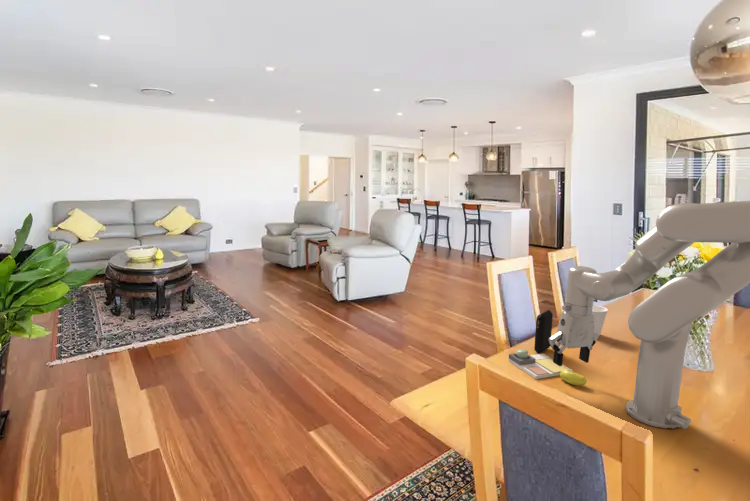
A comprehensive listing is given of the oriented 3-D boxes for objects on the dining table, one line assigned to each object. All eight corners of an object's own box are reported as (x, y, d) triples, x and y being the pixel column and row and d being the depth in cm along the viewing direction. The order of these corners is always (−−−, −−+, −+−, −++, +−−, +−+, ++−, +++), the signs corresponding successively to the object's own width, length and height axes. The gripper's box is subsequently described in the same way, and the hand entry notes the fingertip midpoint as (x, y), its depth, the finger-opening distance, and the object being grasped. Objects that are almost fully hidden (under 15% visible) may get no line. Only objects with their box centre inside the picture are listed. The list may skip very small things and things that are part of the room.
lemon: (564, 376, 134) (565, 365, 133) (589, 387, 127) (590, 374, 127) (556, 380, 132) (557, 368, 131) (581, 390, 125) (582, 378, 125)
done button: (530, 358, 142) (530, 352, 141) (520, 359, 141) (521, 353, 140) (523, 354, 145) (523, 348, 145) (514, 355, 144) (514, 349, 144)
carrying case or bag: (539, 357, 148) (542, 316, 146) (531, 355, 150) (533, 314, 148) (551, 348, 156) (554, 309, 154) (543, 346, 158) (546, 308, 156)
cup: (611, 337, 168) (614, 310, 166) (592, 340, 165) (595, 312, 163) (590, 329, 177) (592, 303, 176) (572, 332, 174) (574, 305, 172)
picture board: (572, 373, 136) (573, 365, 136) (535, 379, 132) (536, 371, 132) (543, 356, 149) (543, 349, 149) (508, 360, 145) (508, 353, 145)
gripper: (562, 314, 120) (555, 371, 123) (611, 310, 125) (603, 365, 129) (544, 306, 127) (538, 360, 130) (591, 302, 132) (584, 354, 136)
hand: (570, 362), depth 129 cm, fingers open, 9 cm apart
